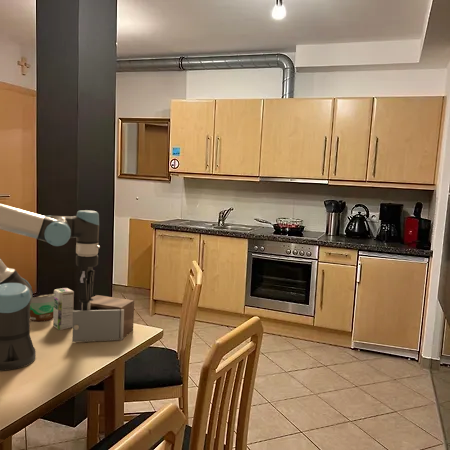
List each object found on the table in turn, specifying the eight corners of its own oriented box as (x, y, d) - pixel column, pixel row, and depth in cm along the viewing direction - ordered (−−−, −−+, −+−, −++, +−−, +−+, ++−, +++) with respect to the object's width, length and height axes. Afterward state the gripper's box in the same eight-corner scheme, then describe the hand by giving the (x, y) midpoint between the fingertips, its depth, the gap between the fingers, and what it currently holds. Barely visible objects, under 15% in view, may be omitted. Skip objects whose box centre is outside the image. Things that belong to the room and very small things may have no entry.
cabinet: (81, 333, 168) (82, 301, 166) (96, 324, 178) (96, 295, 176) (120, 339, 164) (121, 307, 162) (133, 330, 173) (134, 300, 172)
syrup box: (52, 326, 173) (53, 289, 172) (67, 323, 177) (68, 287, 176) (58, 330, 169) (59, 292, 168) (73, 327, 173) (74, 290, 172)
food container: (34, 325, 173) (35, 299, 172) (26, 321, 177) (26, 296, 176) (63, 318, 183) (63, 294, 182) (54, 314, 187) (55, 290, 186)
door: (123, 338, 163) (124, 309, 162) (123, 341, 161) (124, 311, 160) (72, 340, 159) (73, 310, 158) (72, 343, 157) (72, 312, 156)
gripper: (92, 258, 153) (91, 325, 155) (102, 251, 166) (100, 313, 168) (70, 257, 153) (69, 324, 155) (82, 250, 165) (80, 312, 168)
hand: (85, 319), depth 162 cm, fingers closed
